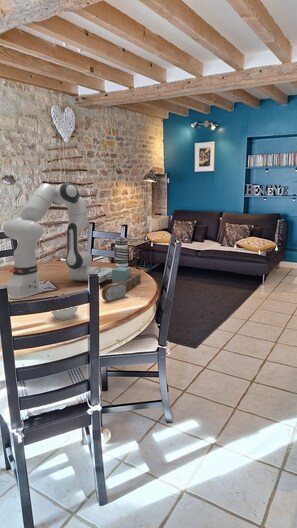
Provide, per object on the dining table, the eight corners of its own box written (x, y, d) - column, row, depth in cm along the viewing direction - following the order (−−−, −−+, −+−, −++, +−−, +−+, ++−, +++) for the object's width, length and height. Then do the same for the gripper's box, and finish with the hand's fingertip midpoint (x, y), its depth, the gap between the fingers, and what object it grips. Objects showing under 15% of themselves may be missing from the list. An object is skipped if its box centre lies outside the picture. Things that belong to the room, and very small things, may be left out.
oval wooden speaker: (123, 295, 187) (123, 280, 185) (127, 296, 185) (127, 281, 183) (101, 302, 176) (100, 285, 175) (105, 303, 174) (104, 287, 172)
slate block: (125, 288, 200) (124, 270, 198) (112, 286, 203) (112, 269, 201) (130, 284, 207) (130, 267, 205) (118, 283, 210) (118, 266, 208)
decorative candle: (115, 274, 230) (114, 236, 224) (129, 274, 230) (129, 236, 224) (114, 278, 221) (113, 238, 215) (129, 278, 221) (128, 238, 215)
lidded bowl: (52, 312, 162) (50, 289, 160) (80, 311, 163) (79, 288, 161) (47, 323, 150) (45, 298, 148) (77, 321, 151) (76, 297, 149)
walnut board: (125, 292, 192) (125, 283, 191) (120, 291, 194) (120, 282, 192) (140, 281, 213) (140, 273, 211) (136, 281, 214) (136, 273, 212)
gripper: (85, 273, 200) (107, 275, 195) (102, 265, 219) (122, 267, 214) (85, 284, 201) (107, 286, 197) (102, 275, 220) (122, 277, 215)
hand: (115, 276), depth 205 cm, fingers closed, pressing on slate block
